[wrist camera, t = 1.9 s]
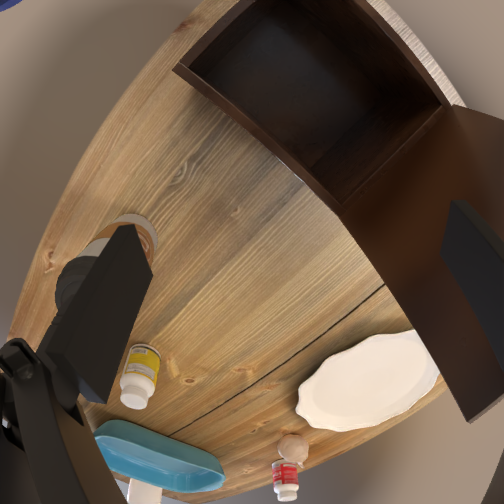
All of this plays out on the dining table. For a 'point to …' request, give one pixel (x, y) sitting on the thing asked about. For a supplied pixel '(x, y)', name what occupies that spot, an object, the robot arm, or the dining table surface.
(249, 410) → the dining table surface
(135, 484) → the tall pillar cylinder
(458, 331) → the lid
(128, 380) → the supplement bottle
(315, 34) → the chest
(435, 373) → the plate
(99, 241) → the coffee cup
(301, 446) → the garlic bulb
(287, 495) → the pill bottle
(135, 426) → the casserole dish
